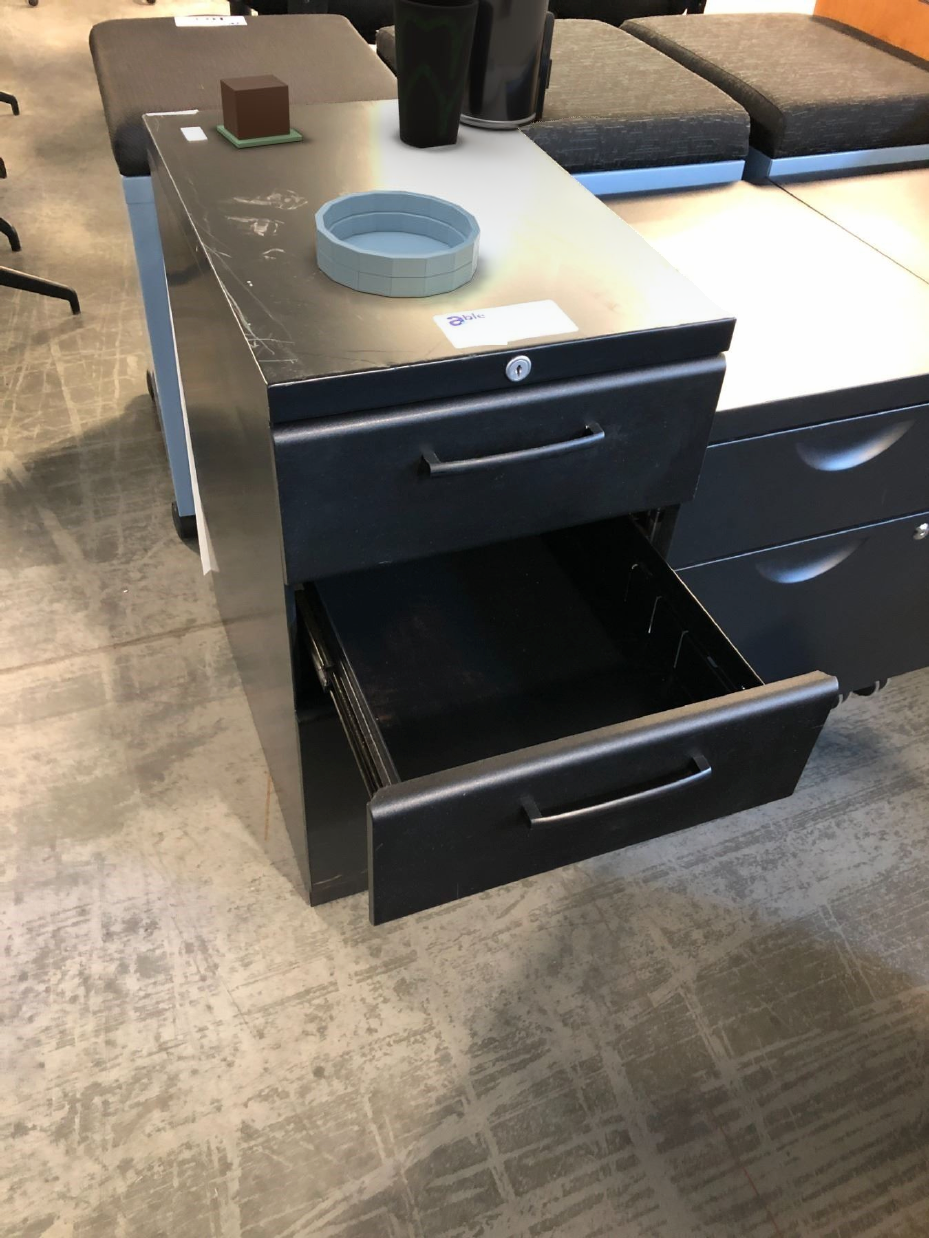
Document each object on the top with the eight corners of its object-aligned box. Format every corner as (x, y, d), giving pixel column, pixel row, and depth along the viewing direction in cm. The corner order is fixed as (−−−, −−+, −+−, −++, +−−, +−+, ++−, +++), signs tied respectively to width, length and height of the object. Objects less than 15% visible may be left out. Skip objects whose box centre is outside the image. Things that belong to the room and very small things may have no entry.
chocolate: (275, 122, 93) (272, 74, 90) (290, 134, 91) (288, 85, 88) (223, 128, 91) (219, 79, 88) (238, 140, 89) (234, 90, 86)
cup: (458, 158, 91) (469, 12, 83) (380, 145, 92) (383, -1, 84) (473, 132, 97) (485, -7, 88) (399, 121, 97) (404, -19, 89)
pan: (423, 225, 80) (425, 182, 77) (505, 287, 73) (510, 241, 70) (289, 249, 74) (287, 203, 72) (364, 318, 68) (364, 269, 65)
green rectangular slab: (279, 123, 94) (279, 118, 94) (302, 140, 91) (301, 136, 91) (217, 130, 91) (216, 125, 91) (238, 148, 89) (238, 143, 88)
